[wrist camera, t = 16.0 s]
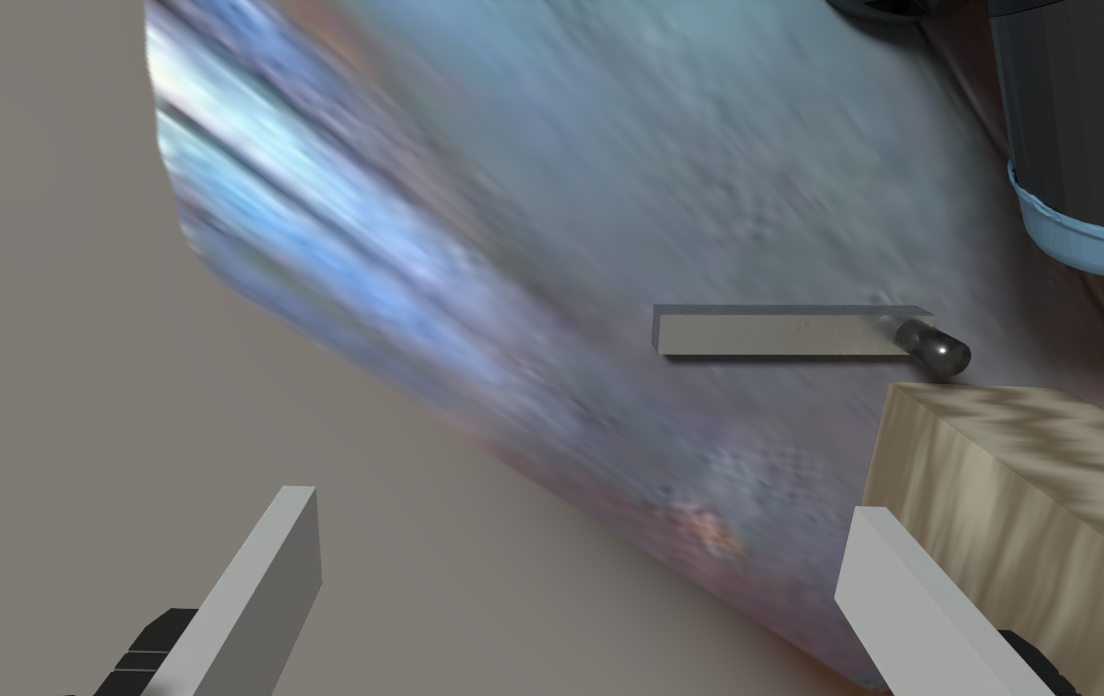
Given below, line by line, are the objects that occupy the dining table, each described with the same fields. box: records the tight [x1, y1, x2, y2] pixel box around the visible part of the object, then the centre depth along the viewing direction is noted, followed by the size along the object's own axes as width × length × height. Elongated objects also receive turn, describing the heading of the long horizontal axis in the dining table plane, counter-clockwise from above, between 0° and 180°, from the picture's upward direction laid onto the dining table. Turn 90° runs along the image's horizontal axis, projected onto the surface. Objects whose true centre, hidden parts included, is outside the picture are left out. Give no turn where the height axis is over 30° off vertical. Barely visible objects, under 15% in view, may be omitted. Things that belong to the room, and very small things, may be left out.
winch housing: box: [861, 382, 1104, 696], centre depth 42 cm, size 14×16×30 cm
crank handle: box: [651, 304, 971, 376], centre depth 48 cm, size 20×3×8 cm, turn 89°
